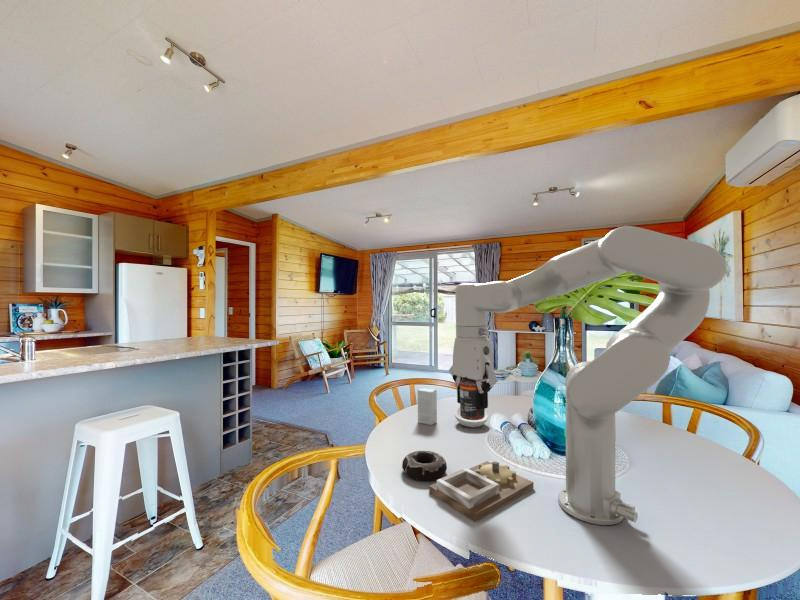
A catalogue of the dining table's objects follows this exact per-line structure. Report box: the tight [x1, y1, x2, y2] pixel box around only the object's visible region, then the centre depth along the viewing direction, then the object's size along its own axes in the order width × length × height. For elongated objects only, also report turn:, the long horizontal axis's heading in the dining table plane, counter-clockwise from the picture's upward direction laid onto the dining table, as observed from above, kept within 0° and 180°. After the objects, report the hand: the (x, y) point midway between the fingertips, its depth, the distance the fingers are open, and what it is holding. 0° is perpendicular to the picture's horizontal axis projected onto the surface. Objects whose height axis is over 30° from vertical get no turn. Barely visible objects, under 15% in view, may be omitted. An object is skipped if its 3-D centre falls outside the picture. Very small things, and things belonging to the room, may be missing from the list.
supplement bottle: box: [459, 377, 486, 420], centre depth 89 cm, size 6×6×11 cm
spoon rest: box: [454, 405, 489, 428], centre depth 135 cm, size 24×12×7 cm, turn 172°
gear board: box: [428, 460, 534, 523], centre depth 85 cm, size 14×21×5 cm, turn 127°
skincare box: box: [417, 387, 438, 426], centre depth 132 cm, size 6×4×12 cm
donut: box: [401, 450, 447, 482], centre depth 94 cm, size 12×12×4 cm
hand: (472, 404), depth 89 cm, fingers closed on supplement bottle, 6 cm apart
